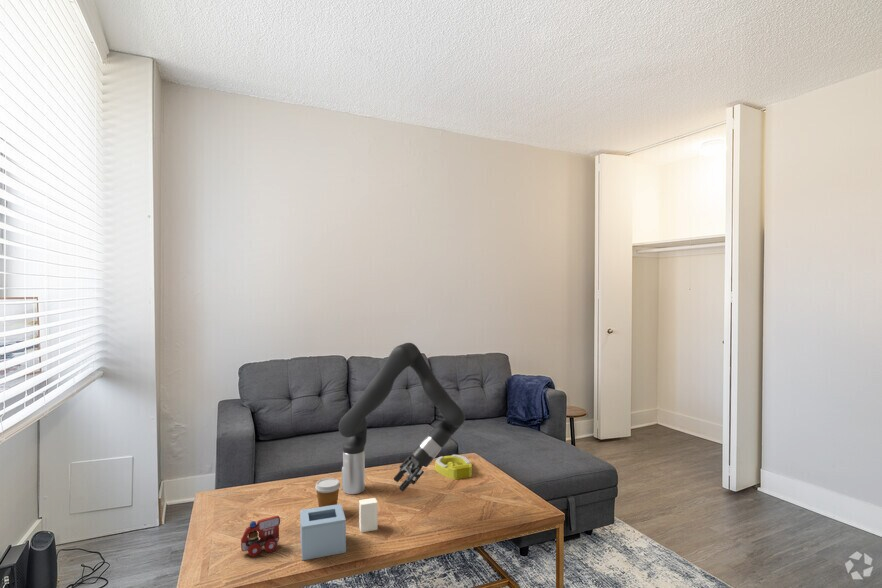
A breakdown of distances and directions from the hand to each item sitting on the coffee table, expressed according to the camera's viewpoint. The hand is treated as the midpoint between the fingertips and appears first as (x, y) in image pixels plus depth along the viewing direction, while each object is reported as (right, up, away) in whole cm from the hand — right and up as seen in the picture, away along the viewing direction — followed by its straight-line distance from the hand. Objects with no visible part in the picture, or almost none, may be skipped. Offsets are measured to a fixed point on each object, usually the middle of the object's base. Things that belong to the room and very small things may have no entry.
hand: (397, 485), depth 176 cm
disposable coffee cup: (-28, -14, +8) cm, 33 cm away
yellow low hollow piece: (+22, -14, +50) cm, 57 cm away
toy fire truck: (-45, -15, -17) cm, 50 cm away
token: (-11, -14, -3) cm, 18 cm away
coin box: (-24, -15, -15) cm, 32 cm away
